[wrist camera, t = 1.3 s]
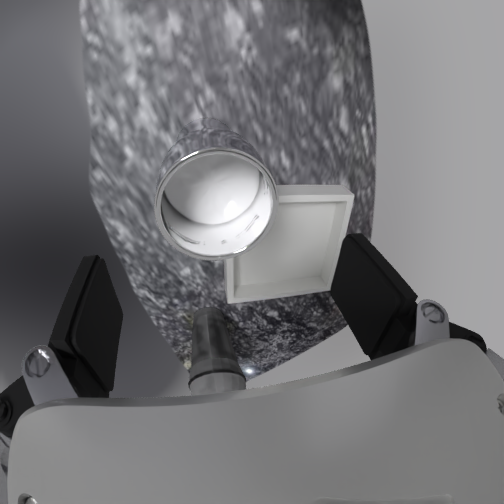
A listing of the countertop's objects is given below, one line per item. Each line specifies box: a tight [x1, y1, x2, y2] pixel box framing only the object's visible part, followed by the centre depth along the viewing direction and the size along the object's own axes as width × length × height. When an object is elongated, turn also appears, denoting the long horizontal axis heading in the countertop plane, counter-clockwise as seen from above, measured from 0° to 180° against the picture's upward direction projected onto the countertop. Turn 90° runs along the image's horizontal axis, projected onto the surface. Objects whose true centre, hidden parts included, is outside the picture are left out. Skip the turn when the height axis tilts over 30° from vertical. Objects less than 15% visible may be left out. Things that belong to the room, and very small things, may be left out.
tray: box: [224, 185, 354, 304], centre depth 33 cm, size 15×15×3 cm
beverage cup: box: [188, 307, 246, 396], centre depth 32 cm, size 7×7×20 cm
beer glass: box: [154, 118, 279, 261], centre depth 20 cm, size 7×7×15 cm
